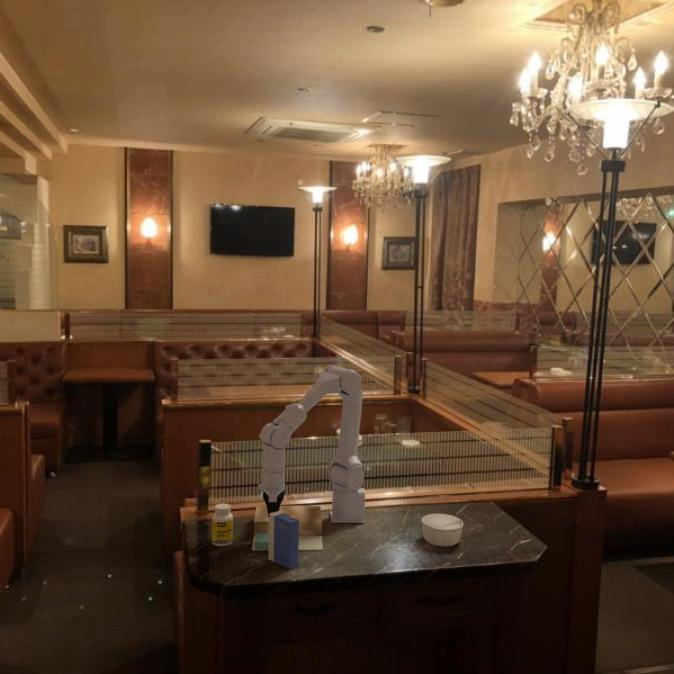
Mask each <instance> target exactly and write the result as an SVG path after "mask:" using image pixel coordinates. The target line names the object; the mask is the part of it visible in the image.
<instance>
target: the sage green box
mask: <svg viewBox="0 0 674 674" xmlns="http://www.w3.org/2000/svg"><path fill="white" fill-rule="evenodd" d="M255 550H269V533H256V537H255Z"/></svg>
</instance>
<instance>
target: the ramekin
mask: <svg viewBox="0 0 674 674" xmlns="http://www.w3.org/2000/svg"><path fill="white" fill-rule="evenodd" d="M420 524H421V528H422V536H423V538H424V540H425V542H427V543H428V544H430V545H433V546H437V547H445V548H447V547H452V546H453V547H454V546H455V545H456V544H458V543H459V542H460V540H461V535H462V530H463V529H464V522H463V520H462V519H460V518H458V517H457V516H456V515H455V516H454V515H451V514H447V513H431V514H426V515H424V516H422V517H421V519H420Z"/></svg>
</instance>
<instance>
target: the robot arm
mask: <svg viewBox="0 0 674 674" xmlns="http://www.w3.org/2000/svg"><path fill="white" fill-rule="evenodd" d="M362 380H363V379H362V376H361V375H360V374H359V373H358V372H357V371H356V370H355V369H349V368H345V367H344V368H343V367H341V366H337V365H334V364H333V365H328V366H327V367H326V368H325V369H324V370H323V371H322V372H320V374H319V377H318V379H317V381H316V382H315V383H314V384H313V385H312V387H310V388H309V390H308V391H307V392H306V393H305V394H304V395H303V397H302V398H301V399H300V400H299V402H297V403H290V404H287V405H286V406H285V407H284V410H283V411H282V412H281V413H280V414H279V415H278V416H277V417H276V418H274V419H273V421H272V422H270V423H267V424H265V425H264V426H263V427H262V429H261V431H260V433H259V434H258V438H259V440H260V442H261V443H262V449H263V452H262V453H263V455H262V457H263V458H262V459H263V460H262V483H261V484H258V485H257V487H258V489H259V490H263V492H262V499H263V502H264V503H265V506H267V511H268V517H269V514H270V513H273V512H277V511H278V512H279V509H280V506H282V505H281V504H282V502H283V500H284V498H285V490H286V484H285V482H286V481H285V480H286V478H285V477H286V476H285V475H286V447H287V446H288V445H289V443H290V441H291V438H292V435H293V433H294V432H295V431H296V430H297V429H298V428H299V427H300V426H301V425H302V424H303V423H304V422H305V421H306V419H307V418H308V417H307V415H308V414H307V413H308V412H309V411H310V410H311V409H313V407H314V406H316V405H317V404H318V403H319V402H320V401H321V400H322V399H324V398H325V397H326V396H327V395H331V394H338V396H339V397H340V398H341V399H342V407H341V408H342V409H341V416H340V417H341V418H340V427H339V437H338V445H337V446H338V447H337V453H336V454H335V455H333V457H332V458H331V461H330V462H331V463H330V465H329V467H328V470H327V477H328V480H329V481H330V482H331V487H332V497H331V500H332V501H331V503H332V504H331V510H330V511H329V516H330V523H331V524H333V523H334V524H338V523H340V524H364V523H365V514H366V492H365V491H366V490H365V488H364V487H362V485H363V483H364V479H365V478H364V477H365V476H364V472H363V463H362V462H361V461H360V459H359V457H358V448H359V447H358V445H359V437H360V430H361V429H360V426H361V420H362V419H361V418H362V411H363V410H362V407H363V400H364V393H363V389H362Z"/></svg>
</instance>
